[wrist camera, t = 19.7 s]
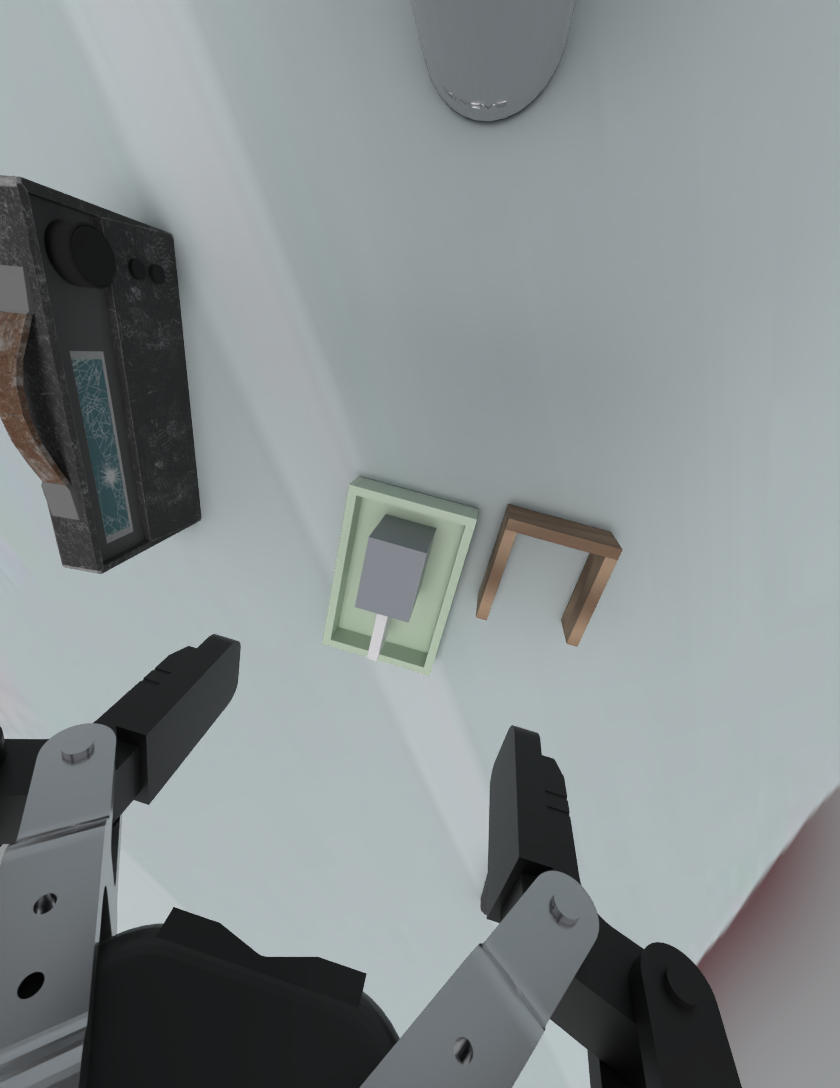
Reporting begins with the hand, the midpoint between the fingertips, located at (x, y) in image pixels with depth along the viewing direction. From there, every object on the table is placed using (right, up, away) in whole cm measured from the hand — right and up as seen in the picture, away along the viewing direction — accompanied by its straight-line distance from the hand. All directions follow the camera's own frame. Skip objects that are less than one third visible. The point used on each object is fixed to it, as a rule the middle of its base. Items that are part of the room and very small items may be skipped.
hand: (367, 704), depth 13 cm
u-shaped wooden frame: (+13, +2, +30) cm, 32 cm away
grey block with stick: (-1, +1, +32) cm, 32 cm away
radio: (-21, +19, +29) cm, 41 cm away
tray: (-1, +2, +32) cm, 33 cm away
